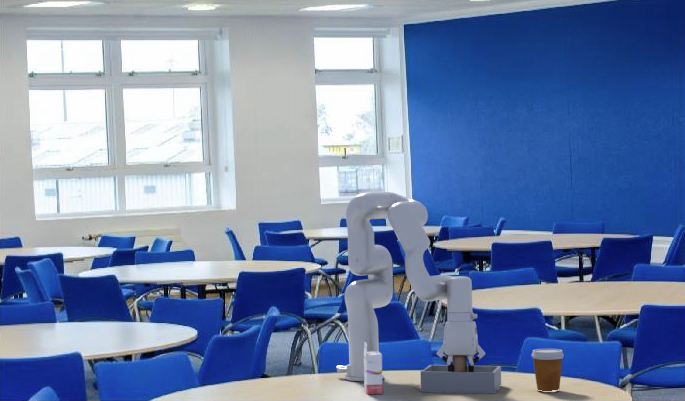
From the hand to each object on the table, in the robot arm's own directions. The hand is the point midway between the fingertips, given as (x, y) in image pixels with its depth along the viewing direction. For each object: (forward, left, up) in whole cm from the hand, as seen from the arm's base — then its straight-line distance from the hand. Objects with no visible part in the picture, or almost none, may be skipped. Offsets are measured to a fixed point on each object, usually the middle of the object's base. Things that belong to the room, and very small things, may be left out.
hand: (461, 377), depth 367 cm
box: (0, 0, -3) cm, 3 cm away
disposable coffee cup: (+26, -1, -4) cm, 26 cm away
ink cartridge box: (-25, -9, -4) cm, 27 cm away
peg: (0, 0, -3) cm, 3 cm away
